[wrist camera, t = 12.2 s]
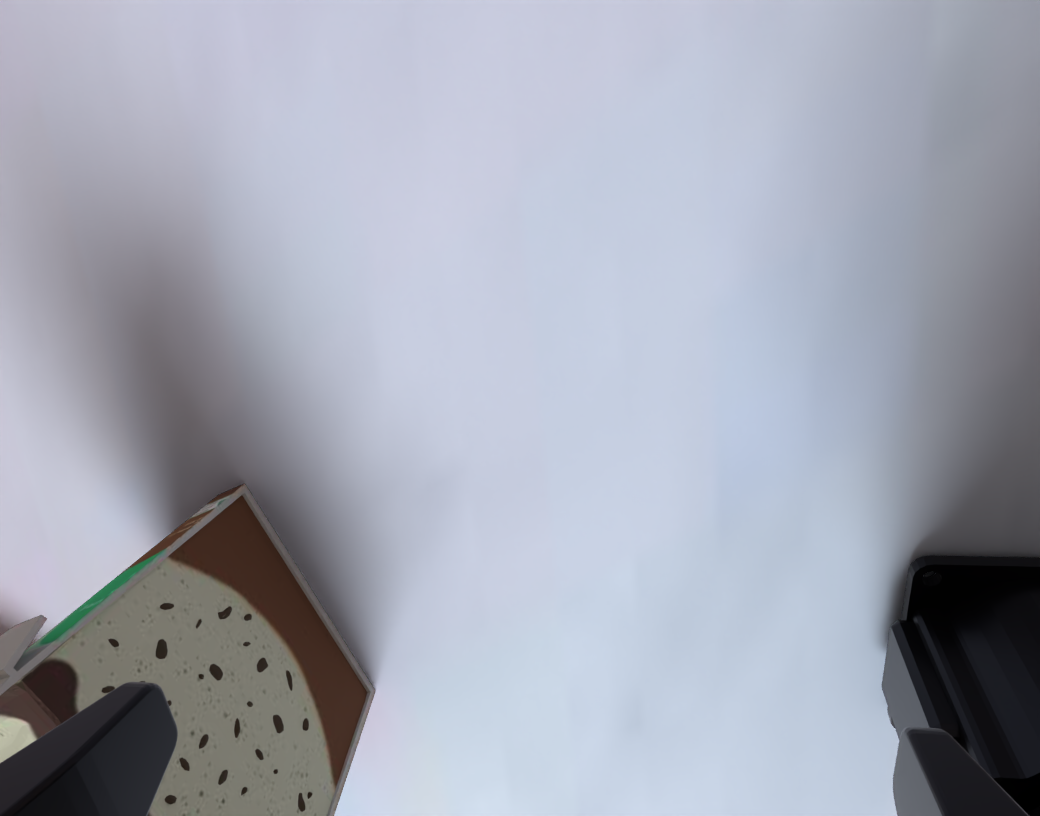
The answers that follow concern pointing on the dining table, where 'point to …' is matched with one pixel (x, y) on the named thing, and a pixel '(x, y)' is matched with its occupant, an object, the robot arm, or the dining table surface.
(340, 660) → the food container
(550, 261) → the dining table surface
